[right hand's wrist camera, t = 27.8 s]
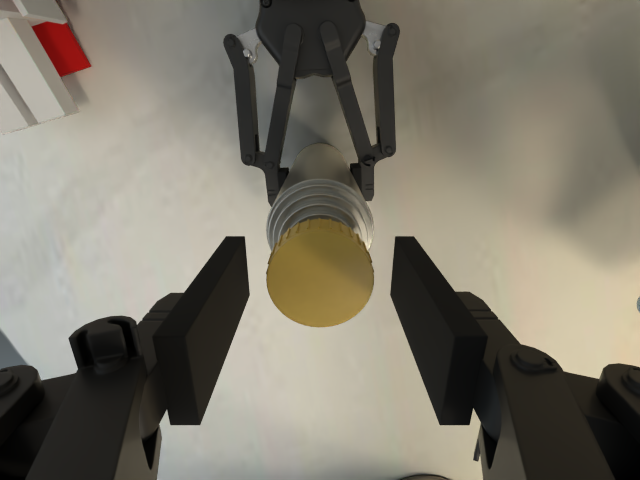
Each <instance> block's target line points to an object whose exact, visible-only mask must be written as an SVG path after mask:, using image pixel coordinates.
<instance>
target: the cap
mask: <svg viewBox="0 0 640 480" xmlns="http://www.w3.org/2000/svg"><path fill="white" fill-rule="evenodd" d="M371 263H372V260H371V257H370V254H369V251H368V250H367V248H366V245H365V242H364V241H363V242H362V240H361V239H360V237H359V234H358V233H357V234H356V233H355V232H354V231H353V230H351V227H347V226H345V225H343V224H342V222H336V221H332V220H331V219H329V220H326V219H320V218H318V219H314V220H310V219H307V221H305V222H302V223H299V222H298V223H297V225H295V226H293V227H292V228H290V227H289V228H288V231H286V232H285V233H284V234H283V235H282V234H281V236H280V239H279V241H278V242H277V243H275V245H274V248H273V251H272V252H271V255H270V258H269V261H268V264H269V266H268V269H267V272H266V274H267V279H266V280H267V288H268V292H269V295H270V297H271V299H272V301H273V303H274V304H275V306H276V307H277V308H278V309H279V310H280V311H281V312H282V313H283V314H284V315H285V316H286V317H288V318H289V319H291V320H293V321H295V322H297V323H300V324H303V325H306V326H311V327H329V326H334V325H338V324H341V323H343V322H345V321H347V320H349V319H351V318H352V317H354V316H355V315H356V314H358V313H359V312H360V311H361V310H362V309H363V307H364V306H365V305H366V303H367V302H368V300H369V298H370V296H371V293H372V290H373V285H374V274H373V273H374V270H373V267H372V264H371Z"/></svg>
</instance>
